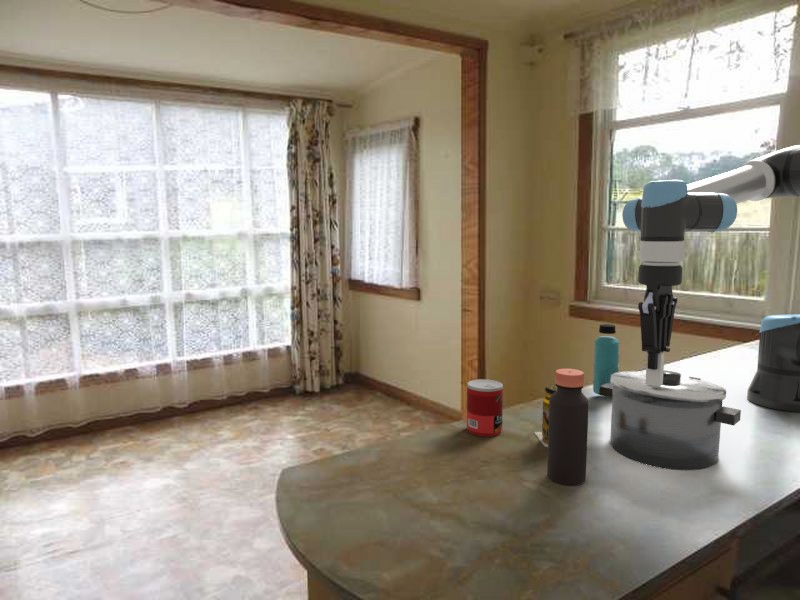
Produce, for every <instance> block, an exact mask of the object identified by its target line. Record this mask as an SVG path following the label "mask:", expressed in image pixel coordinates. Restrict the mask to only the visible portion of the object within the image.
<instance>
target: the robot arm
mask: <svg viewBox="0 0 800 600" xmlns="http://www.w3.org/2000/svg"><path fill="white" fill-rule="evenodd" d="M793 197H794V198H796V197H800V144H797V145H792V146H789V147H785V148H781V149H780V150H776V151H772V152H769V153H767V154H765V155H762V156H759V157H756V158H754V159H751V160H747V161H745V162H744V163H742V164H741V165H740V166H739V167H738V168H737V169H733V170H730V171H728V172H727V171H726V172H724V173H721V174H718V175H714V176H712V177H708V178H705V179H702V180H699V181H695V182H692V183H687V182H686V181H685V180H681V179H672V180H671V179H670V180H669V179H668V180H667V179H664V180H653V181H648V182H647V183H646V184H645V185H644V186H643V190H642V196H640V197H635V198H632V199H630V200H628V201H627V202H626V203H625V205H624V207H623V209H622V213H621V214H622V215H621V216H622V221H623V222H622V223H623V225H624V226H625V227H626V228H627V229H628V230H629V231H632V232H640V236H639V237H640V239H639V240H640V245H639V246H637V250H638V251H639V259H638V260H639V262H641V263H642V264H640V265H639V266H638V272H637V273H638V274H637V275H638V277H637V278H638V279H637V282H638V284H640V285H642V286H643V285H644V286H646V288H645V289H646V290H645V294H644V296H643V297H644V298H643V299H644V300H643V302H638V306H637V308H638V311H639V319H640V335H641V336H640V337H641V351H642V352H646V364H645V366H646V367H645V368H646V369H645V372H646V383H645V384H649V385H654V386H659V387H660V386H662V385H663V371H664V370H665V352H666V353H669V352H670V351H671V348H669V347H670V346H671V345H670V344H671V337H672V331H673V325H674V317H675V310H676V307H677V304H678V297H674V294H673V287H674V286H680V285H681V284H682V283H683V268H684V267H683V266H682V265H680V264H681V263H683V262H684V254H685V235H686V233H703V232H704V233H715V232H722V231H725V230H727V229H729V228H730V227H731V226H732V225H733V224H734V222H735V221H736V219H737V216H738V205H737V204H740V203H742V202H746V201H752V202H759V201H763V200H766V199H770V198H771V199H772V198H793ZM758 339H759V341H758V355H757V356H758V357H757V366H756V367H757V368H756V372H755V374H754V376H753V378H752V381H751V382H750V384H749V386H748V389H747V393H746V395H747V397H746V398H747V400H748V401H749V402H751V403H753V404H755V405H758V406H761V407H764V408H768V409H774V410H777V411H778V410H779V411H786V412H797V413H800V314H799V313H798V314H795V313H793V314H774V315H773V314H771V315H767V316H765V317H763V318H762V319H761V323H760V328H759V338H758Z"/></svg>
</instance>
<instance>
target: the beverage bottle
mask: <svg viewBox="0 0 800 600" xmlns="http://www.w3.org/2000/svg"><path fill="white" fill-rule="evenodd" d="M598 333H600V334H606V335H600V336H598V337H597V338H596V339H595V340H594V355H593V356H594V357H593V358H594V359H593V360H594V361H593V372H592V373H593V375H592V376H593V377H592V378H593V380H592V391H593V393H594V394H596V395H599V389H600V386H601V385H604V384H606V383H611V375H612V374H613V373H617V372H620V370H619V368H620V367H619V365H620V342H621V341H619V339H617V338H616V337H615V336H609V335H610V334H611V335H613V334H616V333H617V332H616V325H615V324H609V323H602V324H600V325H599V329H598Z"/></svg>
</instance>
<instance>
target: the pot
mask: <svg viewBox="0 0 800 600" xmlns="http://www.w3.org/2000/svg"><path fill="white" fill-rule="evenodd" d="M598 396H601V397H602V396H603V397H605V398H606V397H607V398H609V399H611V415H610V416H611V418H610V436H609V437H610V439H609V440H610V441H609V442H610V443H609V444H610V446H611V448H612V449H613V451H615V452H616V453H618V454H620V456H623V457H625V458H627V459H628V460H631V461H634V462H636V463H639V462H640V464H642V463H643V464H642V465H646V464H647V465H646V466H649V465H651V467H654V466H655V467H654V468H659V467H660V468H659V469H664V468H665V469H666V470H674V471H675V470H676V471H697V470H703V469H707V468H711V467H713V466H714V465H716V464H717V463H719V462H718V461H719V453H720V440H721V438H720V437H721V427H722V424H725V425H731V426H733V427H734V426H735V425H736V424H737V423H739V422H740V421H741V415H742V414H741V413H742V410H741V409H737V408H734V407H729V406H728V407H727V406H723V400H721V401H714V402H693V401H680V400H672V399H664V398H658V397H652V396H647V395H642V394H638V393H634V392H630V391H627V390H624V389H621V388H619V387H616V386H614V385H613V384H612V383H606V384H604V385H601V386H600V389H599V394H598Z"/></svg>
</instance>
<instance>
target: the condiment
mask: <svg viewBox="0 0 800 600" xmlns="http://www.w3.org/2000/svg"><path fill="white" fill-rule="evenodd" d="M555 384H556V383H555ZM555 384H548V385H546V386H545V389H544V391H545V392H544V396H545V397H543V399H542V400H543V401H542V419H541V420H542V423H541V427H542V429H541V431H533V433H534V434H535V436H536V437H537V439H538V440H539V441H540V443H541V444H542V445H543V446H544V447H545V448H548V428H549V399H550V396H551V395H552V394H553V393H554V392H555V391H556V390H557V387H556V386H555Z"/></svg>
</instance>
